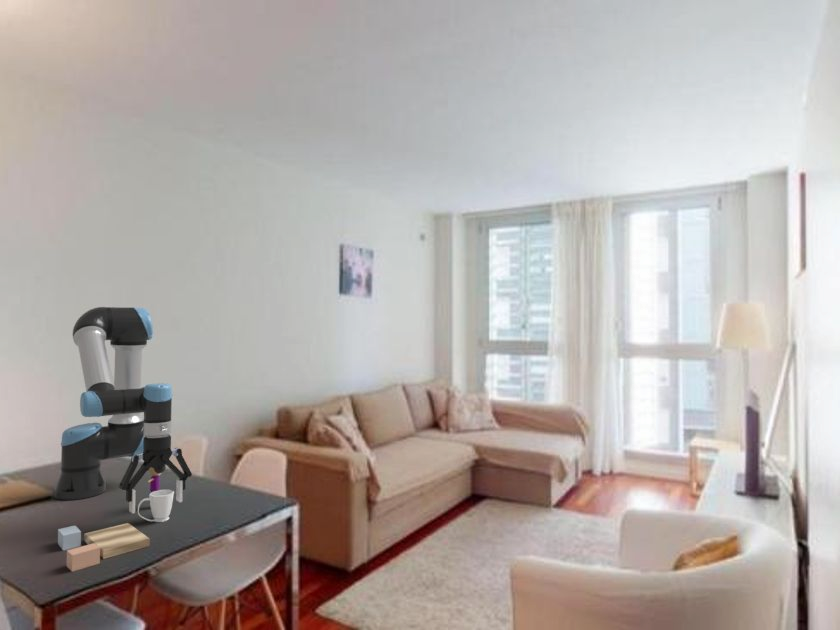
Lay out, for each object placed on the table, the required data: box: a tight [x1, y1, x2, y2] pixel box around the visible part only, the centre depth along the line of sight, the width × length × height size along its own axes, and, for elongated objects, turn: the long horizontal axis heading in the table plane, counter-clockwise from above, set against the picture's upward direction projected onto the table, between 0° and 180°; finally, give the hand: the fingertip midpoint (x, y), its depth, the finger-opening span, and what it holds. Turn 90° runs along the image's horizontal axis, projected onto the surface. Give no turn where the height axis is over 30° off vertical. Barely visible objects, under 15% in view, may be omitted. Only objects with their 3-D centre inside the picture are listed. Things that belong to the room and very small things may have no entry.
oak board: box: [83, 522, 151, 560], centre depth 145 cm, size 16×11×2 cm
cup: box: [136, 489, 175, 523], centre depth 162 cm, size 7×10×8 cm
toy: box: [147, 465, 167, 509], centre depth 174 cm, size 10×6×15 cm, turn 5°
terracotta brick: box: [66, 543, 101, 572], centre depth 133 cm, size 6×4×4 cm, turn 139°
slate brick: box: [57, 525, 82, 551], centre depth 144 cm, size 6×4×4 cm, turn 45°
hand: (156, 506), depth 162 cm, fingers open, 13 cm apart
